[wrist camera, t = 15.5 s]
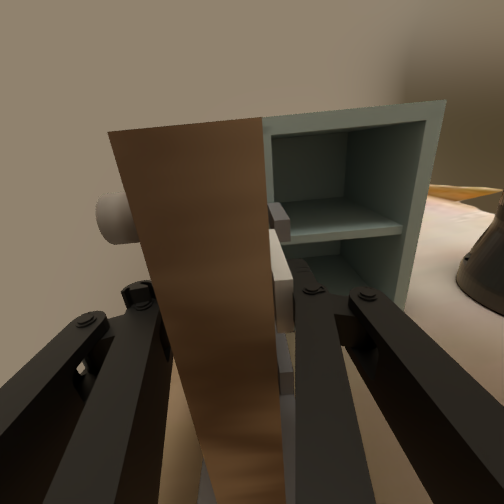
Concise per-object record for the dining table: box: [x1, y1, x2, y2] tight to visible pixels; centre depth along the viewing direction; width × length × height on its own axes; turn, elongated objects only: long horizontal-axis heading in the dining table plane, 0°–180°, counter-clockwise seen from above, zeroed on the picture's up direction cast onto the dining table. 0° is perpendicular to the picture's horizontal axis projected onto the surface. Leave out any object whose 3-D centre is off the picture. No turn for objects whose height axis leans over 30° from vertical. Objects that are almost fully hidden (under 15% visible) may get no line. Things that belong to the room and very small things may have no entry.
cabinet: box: [197, 100, 447, 504], centre depth 22 cm, size 20×31×20 cm, turn 2°
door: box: [96, 117, 286, 504], centre depth 14 cm, size 4×13×18 cm, turn 2°
